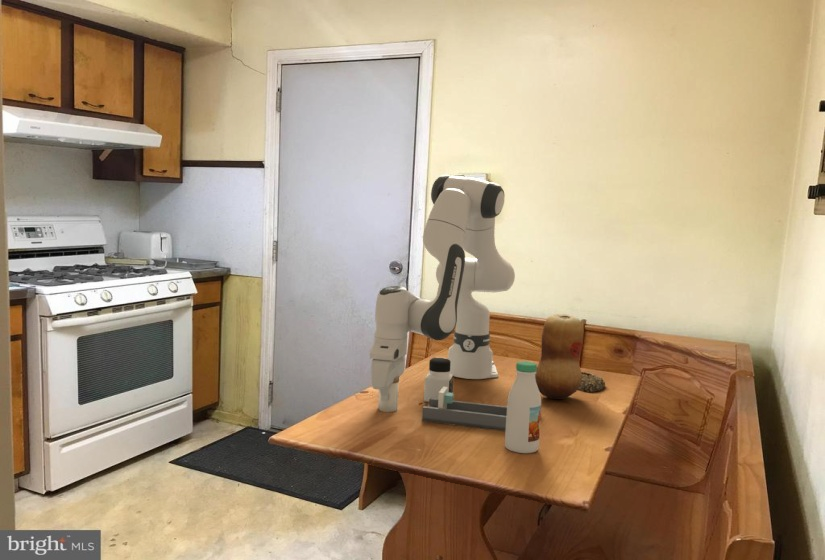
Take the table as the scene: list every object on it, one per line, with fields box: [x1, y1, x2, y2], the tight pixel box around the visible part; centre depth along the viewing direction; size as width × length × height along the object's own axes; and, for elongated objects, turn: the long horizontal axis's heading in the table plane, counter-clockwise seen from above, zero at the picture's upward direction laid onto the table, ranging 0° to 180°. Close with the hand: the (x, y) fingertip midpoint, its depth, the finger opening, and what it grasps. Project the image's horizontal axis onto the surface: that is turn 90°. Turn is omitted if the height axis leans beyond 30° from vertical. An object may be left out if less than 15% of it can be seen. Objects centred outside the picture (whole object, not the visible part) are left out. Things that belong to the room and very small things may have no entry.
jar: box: [377, 376, 400, 413], centre depth 173 cm, size 5×5×9 cm
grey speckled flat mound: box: [577, 371, 606, 393], centre depth 206 cm, size 13×12×5 cm
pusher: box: [438, 387, 455, 409], centre depth 167 cm, size 6×3×6 cm, turn 166°
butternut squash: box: [535, 313, 585, 400], centre depth 189 cm, size 14×13×25 cm
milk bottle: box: [504, 360, 542, 454], centre depth 147 cm, size 8×8×20 cm
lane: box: [421, 398, 507, 432], centre depth 165 cm, size 9×24×8 cm, turn 76°
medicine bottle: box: [423, 356, 454, 403], centre depth 183 cm, size 7×7×12 cm
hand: (388, 397), depth 173 cm, fingers closed on jar, 5 cm apart
